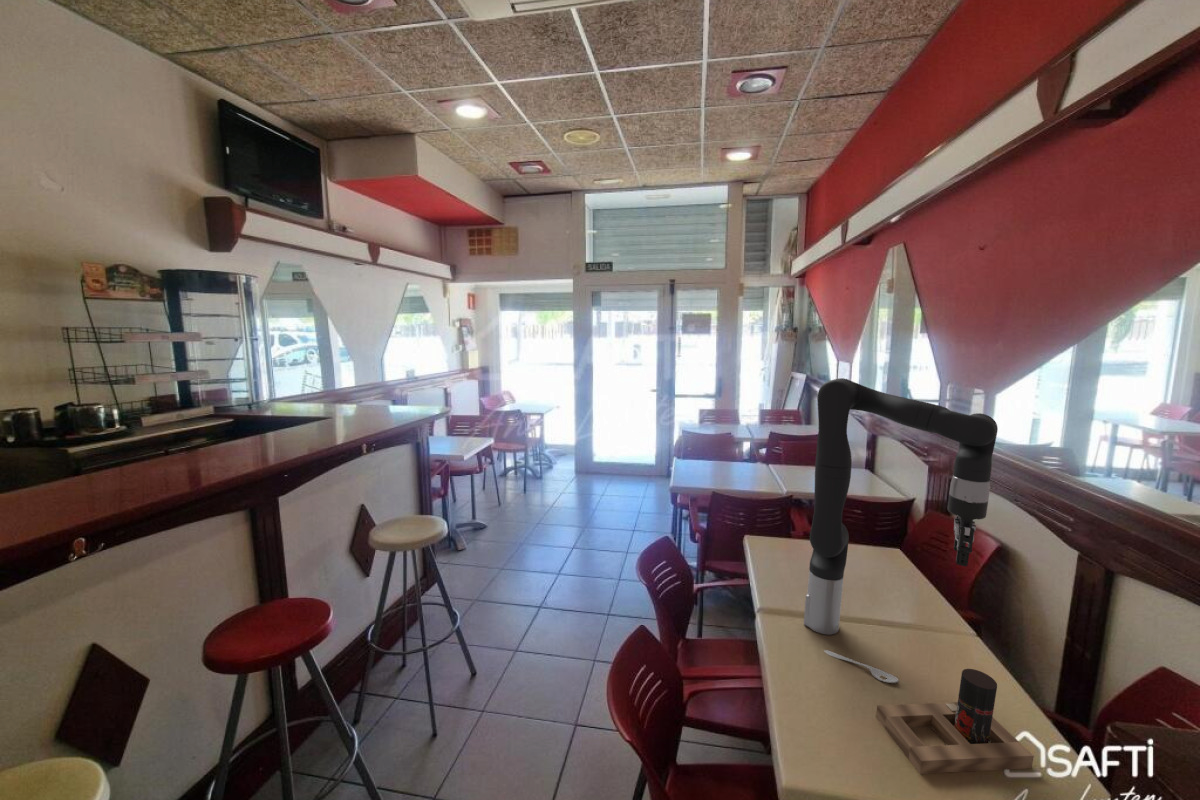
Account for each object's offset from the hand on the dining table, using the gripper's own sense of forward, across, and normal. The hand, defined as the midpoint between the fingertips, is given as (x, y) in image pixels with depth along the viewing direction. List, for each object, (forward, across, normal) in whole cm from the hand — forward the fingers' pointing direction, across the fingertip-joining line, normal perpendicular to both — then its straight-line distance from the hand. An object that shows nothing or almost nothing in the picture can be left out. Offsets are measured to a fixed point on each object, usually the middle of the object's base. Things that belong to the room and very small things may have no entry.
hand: (960, 557), depth 116 cm
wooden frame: (+33, +23, 0) cm, 40 cm away
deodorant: (+33, +20, +4) cm, 39 cm away
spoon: (+34, +8, -20) cm, 40 cm away
